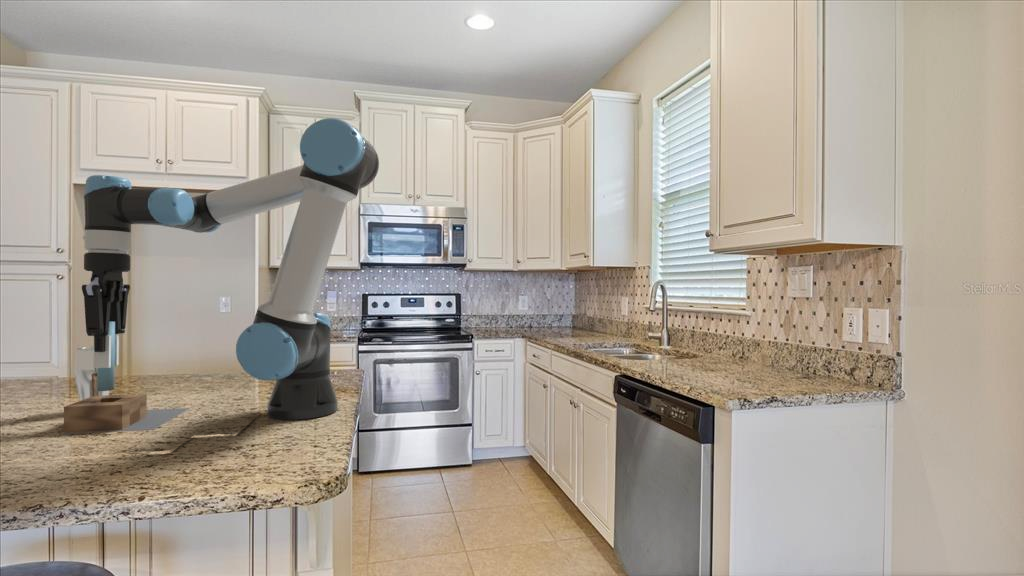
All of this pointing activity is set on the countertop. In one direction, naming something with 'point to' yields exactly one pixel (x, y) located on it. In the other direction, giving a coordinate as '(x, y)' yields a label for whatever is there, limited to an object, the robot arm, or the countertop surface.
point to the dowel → (107, 374)
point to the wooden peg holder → (105, 413)
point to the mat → (147, 420)
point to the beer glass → (86, 373)
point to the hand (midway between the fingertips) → (106, 366)
